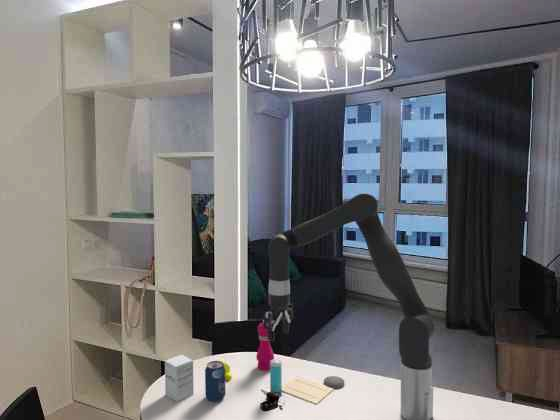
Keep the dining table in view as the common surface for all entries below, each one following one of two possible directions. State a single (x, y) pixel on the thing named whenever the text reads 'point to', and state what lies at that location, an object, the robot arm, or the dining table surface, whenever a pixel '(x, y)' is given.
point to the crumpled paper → (227, 371)
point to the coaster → (334, 382)
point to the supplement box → (179, 377)
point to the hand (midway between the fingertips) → (278, 336)
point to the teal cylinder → (276, 377)
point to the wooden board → (307, 389)
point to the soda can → (215, 381)
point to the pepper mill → (264, 349)
